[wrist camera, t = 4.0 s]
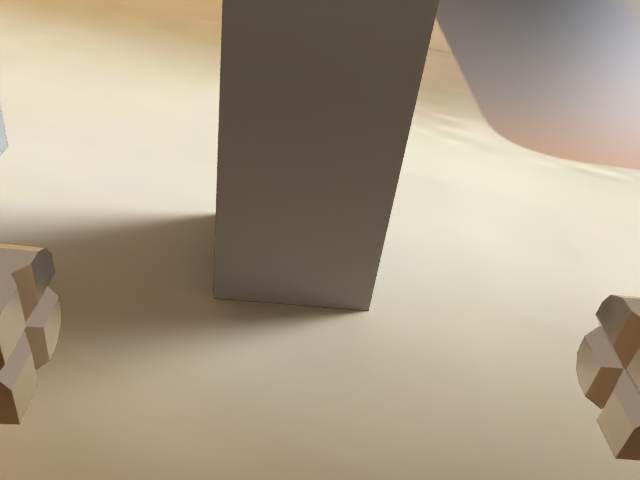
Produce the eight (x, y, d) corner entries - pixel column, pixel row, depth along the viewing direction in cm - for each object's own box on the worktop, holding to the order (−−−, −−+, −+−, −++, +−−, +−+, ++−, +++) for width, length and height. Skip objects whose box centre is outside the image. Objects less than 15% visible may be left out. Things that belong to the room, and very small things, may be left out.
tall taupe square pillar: (357, 224, 24) (425, -131, 17) (368, 310, 20) (464, -112, 13) (229, 212, 23) (246, -158, 17) (213, 298, 19) (227, -147, 12)
